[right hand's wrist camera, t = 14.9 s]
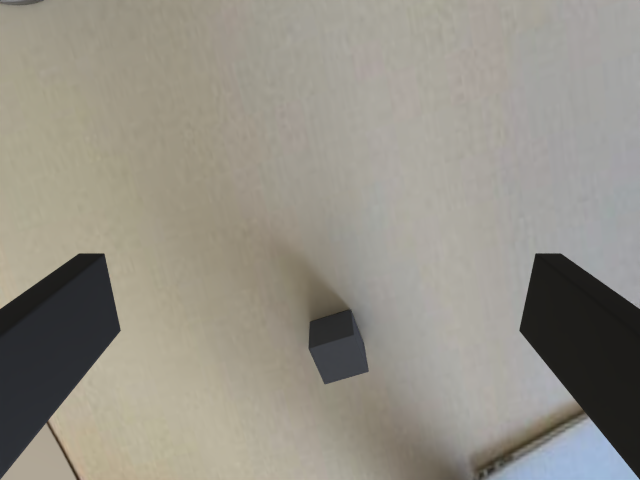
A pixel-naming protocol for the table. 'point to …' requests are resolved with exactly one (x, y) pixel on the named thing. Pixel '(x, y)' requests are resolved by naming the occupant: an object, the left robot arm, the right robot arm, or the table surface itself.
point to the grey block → (337, 347)
